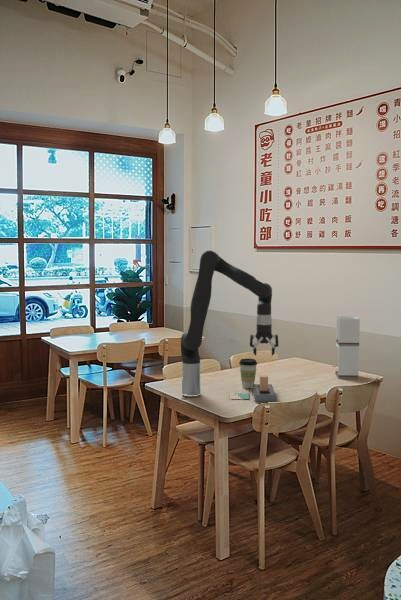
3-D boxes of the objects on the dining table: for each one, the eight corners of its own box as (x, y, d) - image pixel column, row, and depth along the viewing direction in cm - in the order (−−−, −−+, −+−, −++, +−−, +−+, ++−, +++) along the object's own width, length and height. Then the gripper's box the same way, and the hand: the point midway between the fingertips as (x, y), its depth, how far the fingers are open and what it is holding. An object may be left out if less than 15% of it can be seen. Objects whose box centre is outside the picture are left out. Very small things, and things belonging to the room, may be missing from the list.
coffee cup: (242, 390, 285) (242, 362, 283) (236, 385, 294) (236, 358, 293) (259, 388, 287) (260, 361, 286) (253, 384, 297) (253, 357, 295)
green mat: (229, 399, 267) (229, 398, 267) (229, 394, 277) (229, 393, 277) (249, 399, 267) (249, 398, 267) (248, 394, 277) (248, 393, 277)
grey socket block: (255, 402, 262) (255, 394, 262) (252, 391, 282) (252, 384, 281) (275, 402, 262) (275, 394, 261) (271, 391, 281) (271, 384, 281)
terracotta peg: (260, 398, 270) (260, 376, 269) (259, 395, 274) (259, 374, 273) (268, 398, 270) (268, 376, 269) (267, 395, 274) (267, 374, 272)
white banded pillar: (354, 374, 318) (356, 316, 315) (358, 379, 308) (359, 318, 304) (335, 374, 319) (336, 316, 316) (338, 378, 309) (339, 318, 305)
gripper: (277, 322, 272) (277, 353, 273) (249, 322, 272) (249, 353, 274) (279, 324, 264) (278, 356, 266) (250, 324, 265) (250, 356, 266)
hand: (263, 355), depth 270 cm, fingers open, 8 cm apart
